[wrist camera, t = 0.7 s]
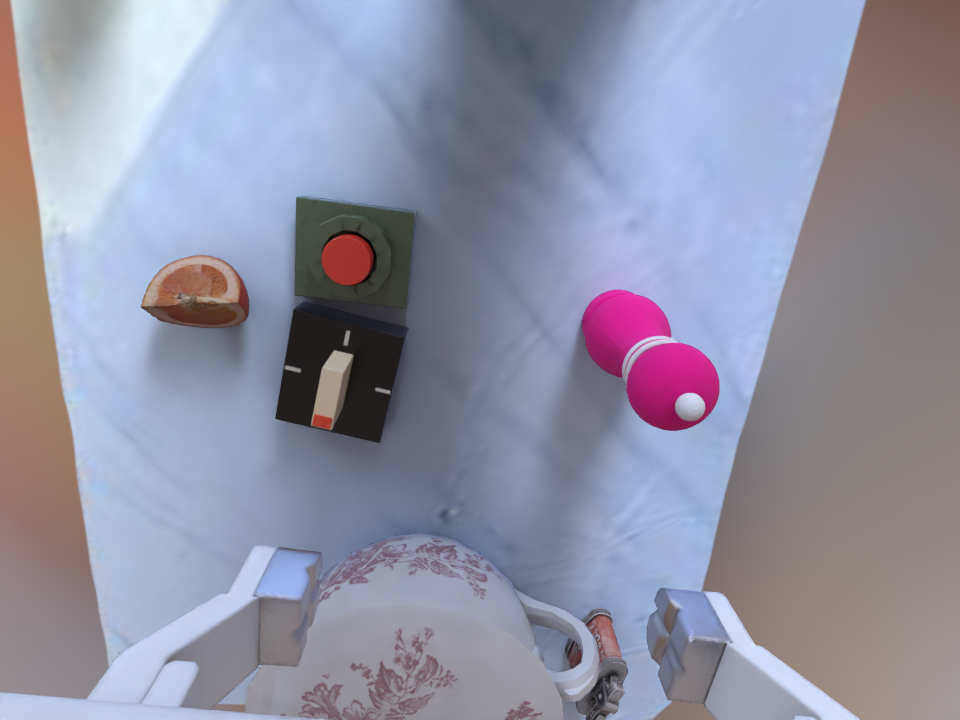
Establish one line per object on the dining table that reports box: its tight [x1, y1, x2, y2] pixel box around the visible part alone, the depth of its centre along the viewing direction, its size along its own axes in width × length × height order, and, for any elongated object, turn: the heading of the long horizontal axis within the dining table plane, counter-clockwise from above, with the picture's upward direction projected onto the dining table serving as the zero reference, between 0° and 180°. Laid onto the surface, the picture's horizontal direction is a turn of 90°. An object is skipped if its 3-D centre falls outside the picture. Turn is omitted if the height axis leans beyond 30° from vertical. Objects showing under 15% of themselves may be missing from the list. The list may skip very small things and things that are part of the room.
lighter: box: [565, 608, 628, 720], centre depth 61 cm, size 8×3×10 cm, turn 154°
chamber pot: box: [245, 533, 601, 720], centre depth 54 cm, size 28×28×21 cm
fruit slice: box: [141, 255, 249, 328], centre depth 49 cm, size 8×7×5 cm
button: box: [322, 234, 374, 285], centre depth 46 cm, size 4×4×2 cm
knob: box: [311, 350, 354, 430], centre depth 49 cm, size 6×2×5 cm, turn 164°
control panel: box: [275, 301, 408, 443], centre depth 52 cm, size 11×10×3 cm
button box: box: [295, 196, 417, 309], centre depth 48 cm, size 10×8×4 cm
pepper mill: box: [582, 290, 720, 431], centre depth 43 cm, size 7×7×20 cm
